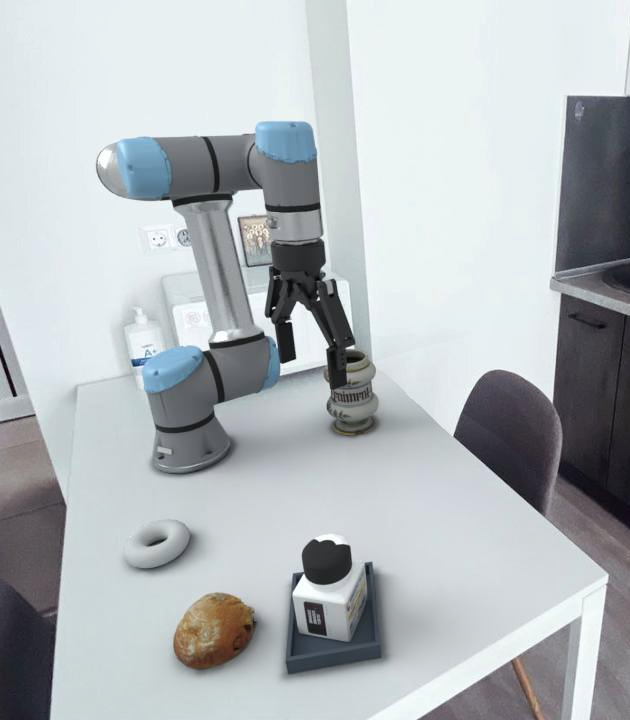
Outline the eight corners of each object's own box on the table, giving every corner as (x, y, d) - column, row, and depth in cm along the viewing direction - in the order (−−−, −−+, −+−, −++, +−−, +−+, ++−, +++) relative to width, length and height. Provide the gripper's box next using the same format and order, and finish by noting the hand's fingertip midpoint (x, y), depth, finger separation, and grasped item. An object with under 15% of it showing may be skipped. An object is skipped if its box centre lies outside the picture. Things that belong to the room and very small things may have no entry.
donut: (175, 573, 87) (201, 529, 96) (170, 557, 86) (197, 514, 95) (113, 573, 87) (145, 529, 97) (107, 557, 86) (140, 514, 95)
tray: (294, 585, 85) (292, 573, 84) (373, 573, 87) (372, 561, 86) (287, 674, 71) (285, 661, 70) (381, 657, 73) (380, 644, 72)
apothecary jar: (338, 443, 122) (330, 370, 114) (322, 420, 131) (314, 351, 124) (388, 429, 127) (383, 359, 120) (369, 408, 137) (363, 341, 129)
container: (350, 643, 75) (341, 572, 69) (297, 634, 76) (285, 563, 71) (368, 599, 82) (362, 531, 76) (320, 591, 83) (311, 523, 78)
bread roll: (210, 627, 82) (176, 594, 79) (269, 601, 81) (237, 566, 78) (187, 690, 73) (148, 655, 70) (252, 662, 72) (216, 625, 69)
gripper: (228, 231, 83) (249, 358, 91) (328, 258, 67) (342, 408, 76) (272, 224, 88) (288, 345, 96) (374, 248, 72) (382, 389, 81)
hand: (312, 373), depth 86 cm, fingers open, 13 cm apart
